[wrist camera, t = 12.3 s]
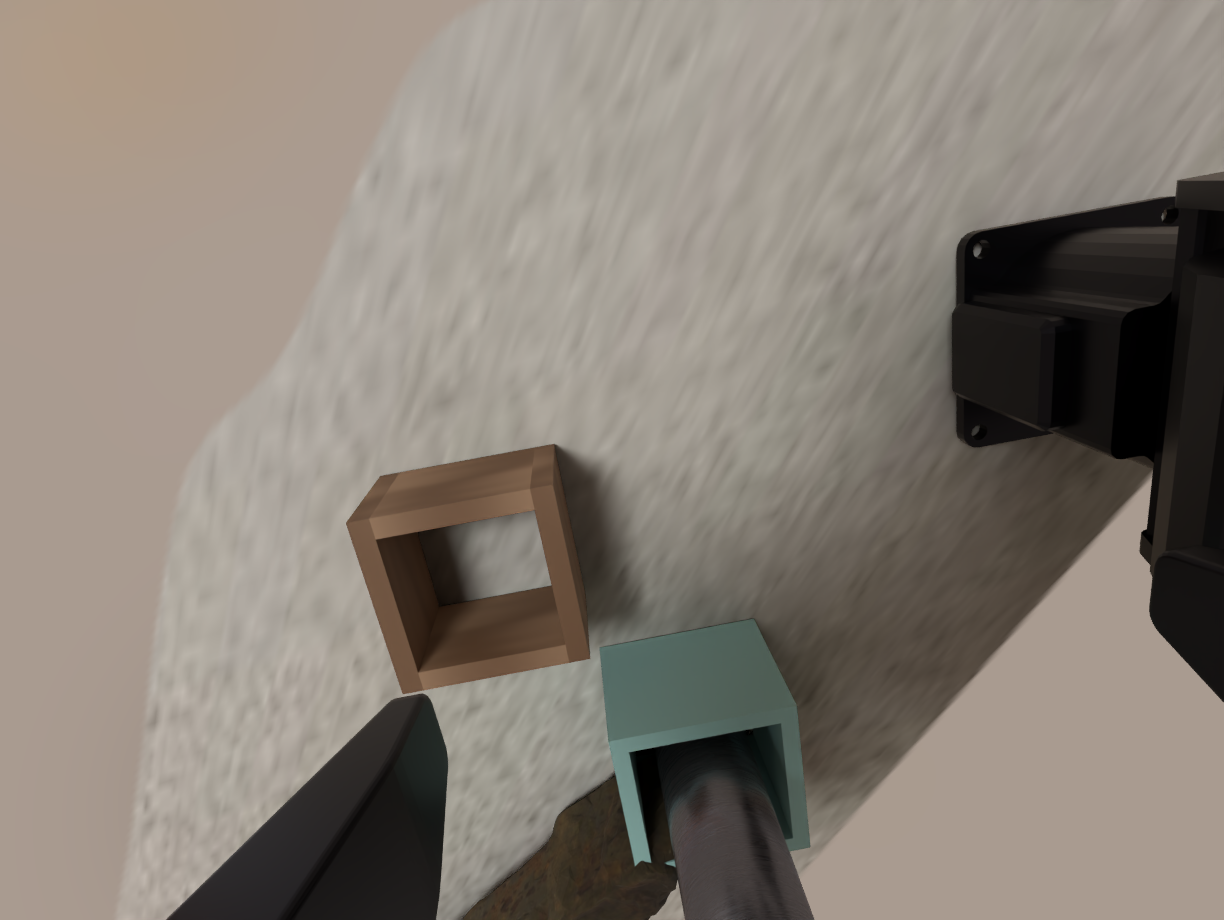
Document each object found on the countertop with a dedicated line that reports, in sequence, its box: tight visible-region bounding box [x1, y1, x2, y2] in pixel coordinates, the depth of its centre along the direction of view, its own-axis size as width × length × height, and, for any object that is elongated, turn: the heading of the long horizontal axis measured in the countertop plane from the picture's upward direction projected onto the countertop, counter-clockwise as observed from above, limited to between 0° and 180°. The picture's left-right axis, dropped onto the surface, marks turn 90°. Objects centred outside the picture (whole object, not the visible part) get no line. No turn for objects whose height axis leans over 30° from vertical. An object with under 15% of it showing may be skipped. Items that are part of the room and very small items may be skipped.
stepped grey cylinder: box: [654, 730, 814, 920], centre depth 18 cm, size 3×3×13 cm
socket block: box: [346, 444, 590, 694], centre depth 20 cm, size 5×5×4 cm
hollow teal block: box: [600, 619, 810, 867], centre depth 22 cm, size 5×5×4 cm
